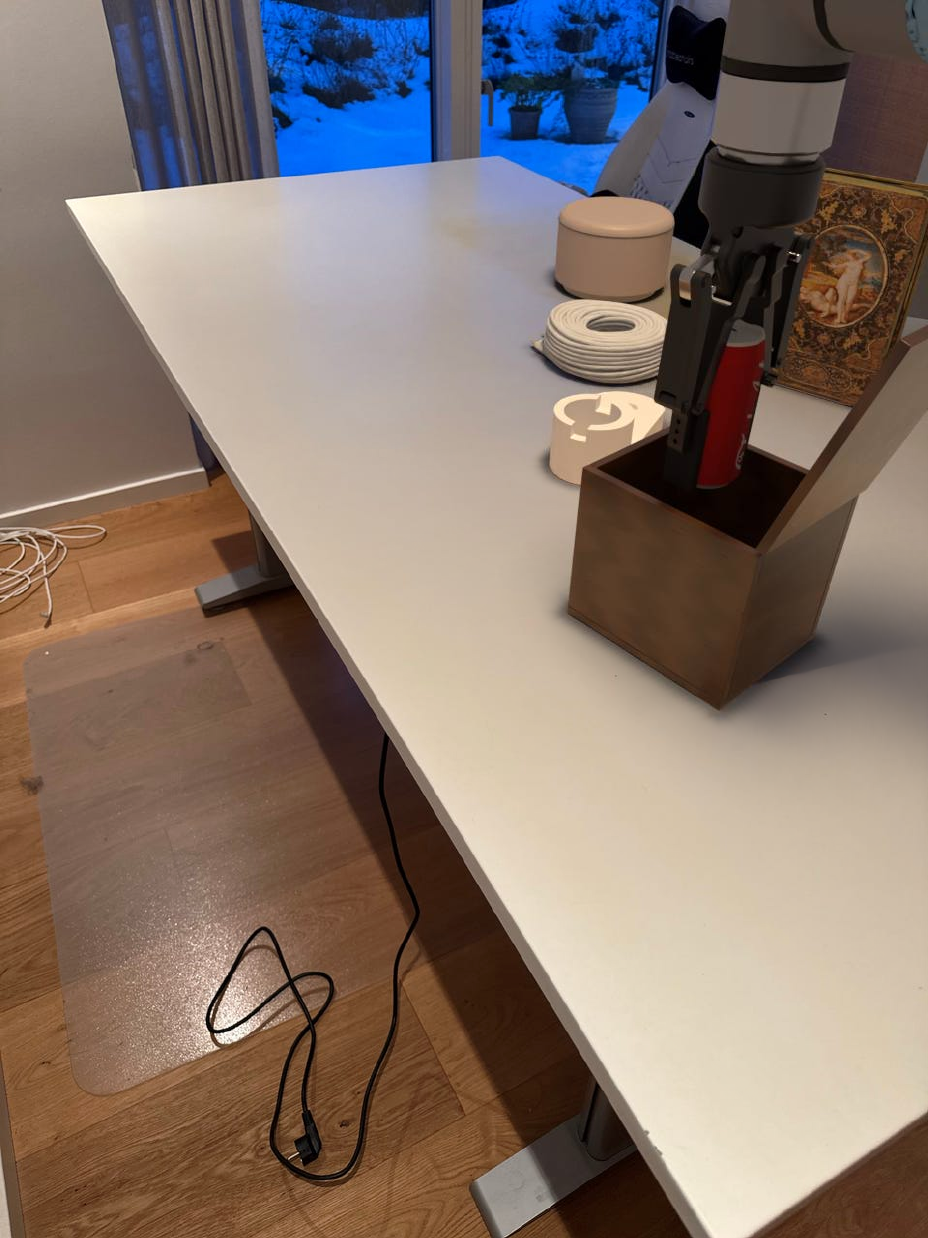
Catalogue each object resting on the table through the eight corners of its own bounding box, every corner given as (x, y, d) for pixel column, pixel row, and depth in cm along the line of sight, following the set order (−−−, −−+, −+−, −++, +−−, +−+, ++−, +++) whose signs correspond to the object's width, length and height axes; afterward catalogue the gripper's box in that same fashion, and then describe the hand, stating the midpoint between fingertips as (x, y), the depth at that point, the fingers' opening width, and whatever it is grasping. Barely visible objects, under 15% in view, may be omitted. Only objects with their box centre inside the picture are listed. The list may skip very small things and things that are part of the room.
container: (532, 288, 148) (536, 211, 141) (590, 260, 160) (596, 188, 152) (630, 314, 140) (640, 234, 133) (684, 283, 151) (696, 207, 144)
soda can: (744, 492, 71) (779, 341, 64) (673, 490, 71) (700, 340, 64) (729, 457, 76) (761, 312, 68) (662, 455, 76) (686, 310, 68)
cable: (524, 343, 131) (526, 300, 127) (635, 329, 135) (640, 288, 131) (573, 394, 118) (577, 349, 114) (694, 378, 122) (702, 333, 119)
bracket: (610, 493, 99) (617, 437, 95) (536, 473, 102) (540, 418, 98) (669, 419, 113) (678, 367, 109) (602, 403, 116) (608, 352, 112)
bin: (566, 612, 83) (581, 467, 74) (662, 556, 90) (687, 417, 81) (719, 710, 73) (758, 557, 64) (813, 638, 80) (860, 491, 71)
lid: (899, 338, 50) (911, 346, 50) (1008, 283, 58) (1019, 291, 57) (755, 548, 64) (764, 556, 64) (858, 483, 71) (866, 489, 71)
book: (745, 375, 123) (788, 172, 108) (763, 362, 127) (807, 164, 111) (866, 411, 115) (932, 198, 100) (882, 397, 118) (948, 188, 103)
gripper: (796, 121, 66) (733, 419, 80) (626, 160, 56) (589, 491, 71) (895, 140, 61) (809, 451, 76) (728, 185, 52) (667, 532, 66)
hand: (703, 470), depth 73 cm, fingers closed on soda can, 5 cm apart
